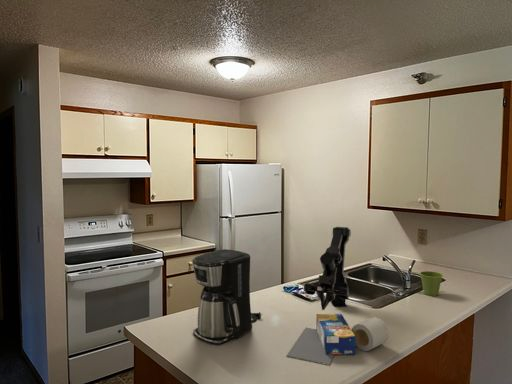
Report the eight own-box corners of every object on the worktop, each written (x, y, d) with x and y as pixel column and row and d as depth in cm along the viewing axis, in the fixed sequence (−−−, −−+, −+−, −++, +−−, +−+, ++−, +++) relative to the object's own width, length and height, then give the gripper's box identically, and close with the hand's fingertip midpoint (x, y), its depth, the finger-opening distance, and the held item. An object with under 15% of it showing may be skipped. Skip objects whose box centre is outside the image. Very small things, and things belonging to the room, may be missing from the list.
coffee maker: (184, 340, 154) (182, 258, 151) (220, 311, 184) (220, 242, 181) (235, 350, 145) (234, 263, 143) (264, 318, 175) (264, 246, 173)
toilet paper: (366, 338, 155) (366, 314, 154) (388, 347, 147) (388, 322, 147) (350, 345, 149) (351, 320, 148) (372, 355, 141) (373, 329, 140)
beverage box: (316, 314, 162) (325, 336, 141) (341, 314, 163) (355, 336, 141) (316, 329, 163) (325, 354, 141) (341, 329, 163) (355, 354, 141)
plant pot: (435, 290, 213) (436, 270, 212) (447, 297, 201) (447, 277, 200) (414, 290, 213) (415, 270, 212) (425, 298, 201) (425, 277, 200)
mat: (305, 328, 164) (305, 327, 164) (343, 334, 158) (343, 333, 158) (286, 356, 140) (286, 355, 140) (329, 365, 134) (329, 364, 134)
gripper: (305, 264, 166) (297, 297, 157) (348, 269, 159) (343, 304, 150) (309, 277, 174) (302, 309, 165) (351, 282, 167) (346, 316, 157)
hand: (322, 309), depth 159 cm, fingers closed
